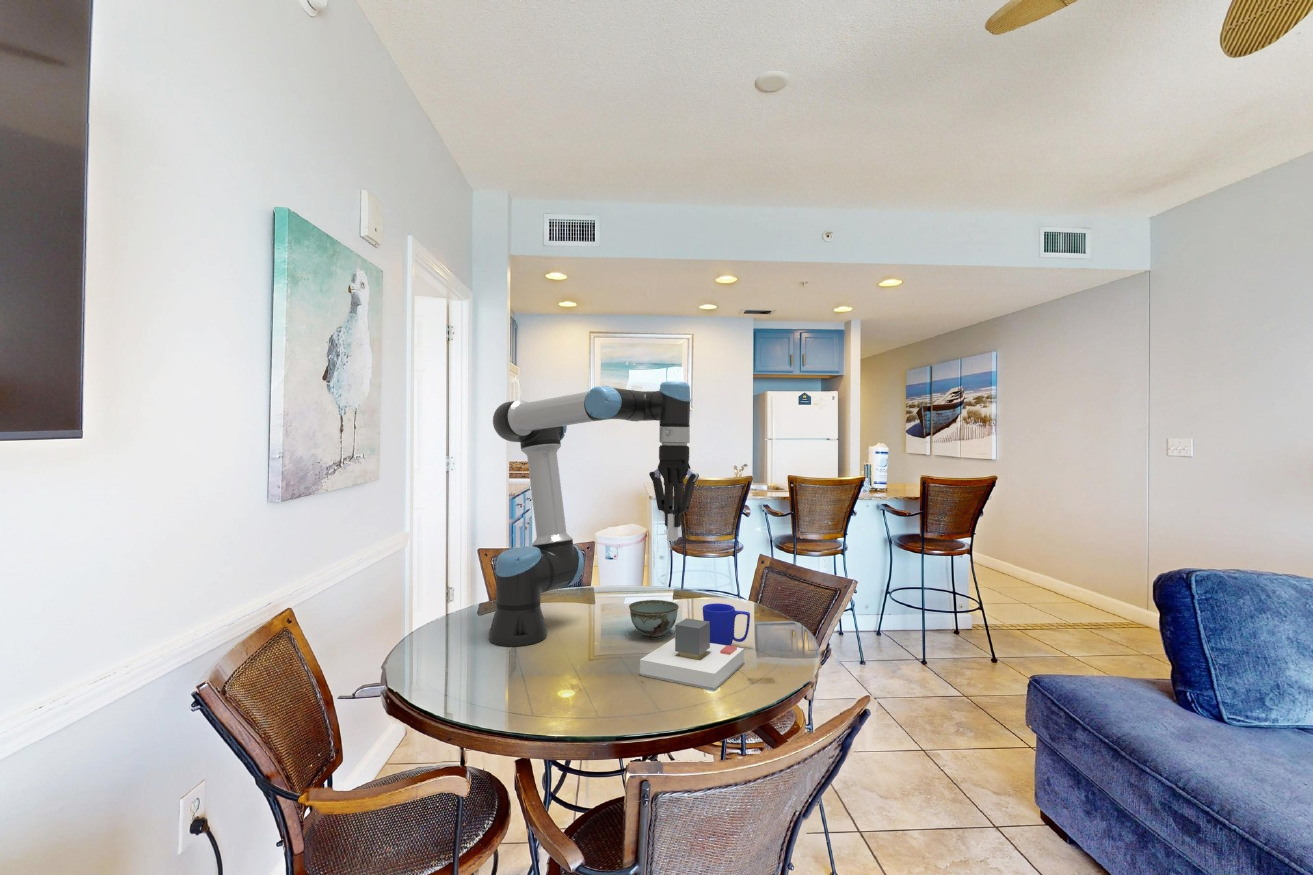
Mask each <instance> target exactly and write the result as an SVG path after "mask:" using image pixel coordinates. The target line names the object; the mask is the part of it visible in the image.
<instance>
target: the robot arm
mask: <svg viewBox="0 0 1313 875" xmlns="http://www.w3.org/2000/svg"><path fill="white" fill-rule="evenodd" d="M691 402H692V399H691V386H690V384H689V383H687V382H685V381H663V382H661V383H660V386H659V390H654V391H653V390H651V391H649V390H647V391H644V390H642V391H641V390H635V389H627V388H625V389H624V388H618V387H612V386H610V385H609V386H608V385H605V386H604V385H603V386H602V385H601V386H600V385H599V386H594V387H592V388H591V389H590V390H589V391H585V392H580V393H578V392H577V393H573V394H567V395H562V396H557V397H556V396H555V397H552V398H545V399H540V400H535V401H529V402H527V401H525V400H519V399H518V400H513V401H512V400H511V401H506V402H503V403H502V404H500V405H499V406H498V407H497V408H496V409H495V411H494V413H493V416H492V426H493V428H494V430H495V433H496V434H497V435H498V437H500V438H502V439H503V440H505V441H507V442H513V443H520V451H521V452H522V453H523V454H525V455H526V458H527V465H528V473H529V474H528V475H529V483H530V492H531V500H532V508H533V515H534V516H533V517H534V525H535V533H536V538H535V540H533V542H532V545H531V546H529V545H527V546H521V547H519V546H518V547H513V548H512V547H511V548H509V549H506V550H504V551H502V552H501V553H500V554H499V555H498V556H497V559H496V568H495V579H496V580H495V584H496V585H495V586H496V587H495V589H496V590H495V598H496V599H495V601H496V602H495V612H494V615H493V619H492V621H491V626H490V627H489V632H488V640H489V642H490V643H492V644H494V645H498V646H503V647H521V646H528V645H533V644H536V643H540V642H542V641H544V640H545V639H547V637H548V626H547V624H546V622H545V618H544V615H543V612H542V609H541V595H542V593H546V592H551V591H553V590H558V589H564V588H567V587H569V586H571V585H573V584H576V583H577V581H578V580H579V578H581V576H582V574H583V572H584V566H585V565H584V564H585V561H584V560H585V559H584V555H583V553H582V551H581V550H580V548H579V547H578V546H577V545H574V541H573V540H574V539H573V537H572V536H570V534H568V532H567V526H566V517H565V510H564V501H563V495H562V487H561V477H560V469H559V462H558V461H559V460H558V454H557V453H558V451H559V449H561V447H562V443H561V442H562V440H563V439H564V438H565V436H566V435H565V433H567V428H568V427H567V426H570V425H572V426H573V425H577V424H584V423H591V422H597V421H598V422H600V421H607V420H624V421H630V422H645V421H647V422H649V421H655V422H656V421H659V433H658V434H659V443H660V445H659V447H658V460H659V462H658V465H657V468H656V469H655V470H653V471H650V472H649V474H648V475H649V477H650V479H651V481H652V485H653V490H654V491H653V492H654V496H655V500H656V501H655V502H656V505H657V510H658V511H662V512H663V513H664V526H665V527H667V542H668V541H669V542H674V541H678V540H679V539H678V538H679V528H680V527H681V526H682V514H683V513H686V512H688V511H689V510H690V507H691V502H692V498H693V495H694V494H693V493H694V489H695V485H696V482H697V481H698V479H699V477H700V475H699V473H697V472H696V473H695V472H694V471H693V470H692V469H691V465H690V447H689V445H688V444H689V443H690V438H691V437H690V434H691V433H690V427H691V426H690V420H691V419H690V416H691V415H690V414H691ZM662 479H663V481H662ZM685 479H687V481H686V483H685V487H684V489H683V486H684V482H685V481H684V480H685ZM663 486H664V487H663ZM683 490H684V491H683Z"/></svg>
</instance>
